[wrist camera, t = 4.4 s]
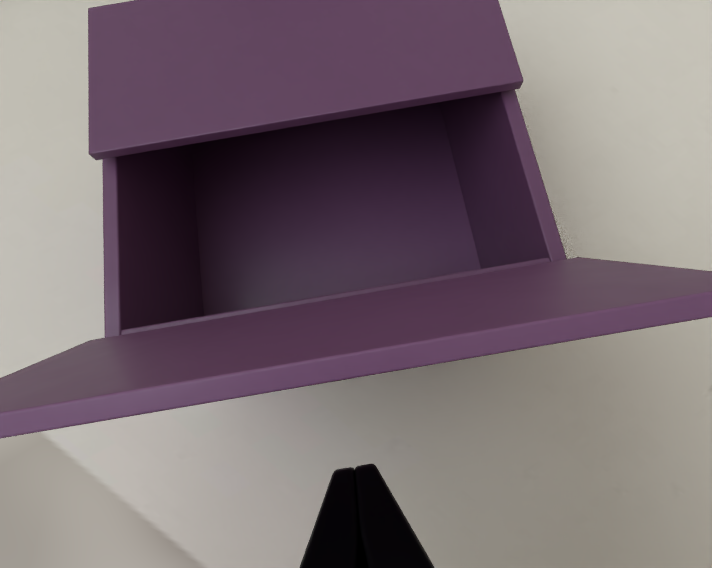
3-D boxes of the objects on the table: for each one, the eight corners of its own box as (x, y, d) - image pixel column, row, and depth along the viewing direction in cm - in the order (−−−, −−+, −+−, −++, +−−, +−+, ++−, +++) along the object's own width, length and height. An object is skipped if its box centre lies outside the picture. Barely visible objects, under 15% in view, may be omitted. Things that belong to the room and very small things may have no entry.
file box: (500, 316, 20) (583, 261, 12) (201, 367, 20) (86, 345, 12) (444, 98, 23) (481, -61, 15) (185, 141, 23) (86, 5, 15)
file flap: (579, 256, 12) (580, 270, 12) (89, 340, 12) (93, 353, 12) (787, 278, 6) (789, 304, 7) (-141, 436, 6) (-134, 462, 6)
